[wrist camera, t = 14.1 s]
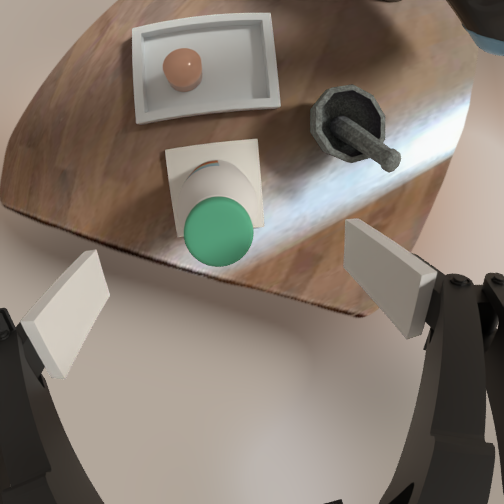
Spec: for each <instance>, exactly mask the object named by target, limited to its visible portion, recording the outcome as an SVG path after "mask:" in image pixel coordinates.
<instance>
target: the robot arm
mask: <svg viewBox="0 0 504 504" xmlns="http://www.w3.org/2000/svg"><path fill="white" fill-rule="evenodd" d="M384 1H390V2H398V1H401V0H384ZM446 1H447V2H448V4H449V5H450V6H451V8H452V9H453V11H454V12H455V13H456V15H457V16H458V18H459V19H460V21H461V22H462V26H463V27H464V29H465V30H466V31H468V33H469V34H470V36H471V37H472V39H473V40H474V42H475V44H476V45H477V46H478V47H479V48H481V49H482V50H484V51H485V52H487V53H490V54H493V55H499V56H504V0H446ZM344 268H345V269H346V270H347V272H348V273H349V274H350V275H351V276H352V277H353V278H354V279H355V280H356V281H357V283H358V284H359V285H360V286H361V287H362V288H363V289H364V290H365V292H366V293H367V294H368V295H369V296H370V297H371V298H372V299H373V301H374V302H375V303H376V304H377V305H378V306H379V307H380V309H381V310H382V311H383V312H384V313H385V314H386V316H387V317H388V318H389V319H390V320H391V321H392V323H393V324H394V325H395V326H396V327H397V329H398V330H399V331H400V332H401V333H402V335H403V336H404V337H405V338H406V339H410V338H413V337H416V336H419V335H421V334H422V331H423V328H424V324H425V322H426V323H427V324H428V325H429V326H430V327H431V328H430V331H429V334H428V337H427V340H426V343H425V346H424V350H426V355H425V361H424V368H423V373H422V378H421V383H420V388H419V393H418V397H417V402H416V406H415V410H414V414H413V418H412V422H411V425H410V429H409V432H408V435H407V439H406V442H405V445H404V448H403V451H402V454H401V457H400V460H399V463H398V466H397V468H396V471H395V474H394V476H393V479H392V481H391V483H390V485H389V487H388V489H387V490H386V492H385V494H384V495H383V497H382V498H381V500H380V502H379V504H487V503H488V499H489V494H490V488H491V483H492V476H493V469H494V462H495V447H494V445H493V443H486V442H485V439H484V433H485V418H486V416H485V415H486V390H487V394H488V398H489V402H490V406H491V410H492V415H493V420H494V424H495V430H496V436H497V441H498V449H499V456H500V465H501V476H502V485H503V493H504V276H503V275H502V274H499V273H488V274H486V276H485V279H484V283H483V285H474V284H473V283H472V281H471V280H470V279H469V278H467V277H465V276H463V275H459V274H447V275H444V274H443V273H442V272H440V271H439V270H438V269H436V268H435V267H433V266H432V265H430V264H429V263H428V262H426V261H424V260H423V259H422V258H421V257H419V256H418V255H416V254H413V253H410V252H409V251H407V250H406V249H404V248H403V247H401V246H400V245H398V244H397V243H396V242H394V241H393V240H391V239H390V238H388V237H386V236H385V235H383V234H382V233H380V232H379V231H377V230H376V229H374V228H373V227H371V226H369V225H368V224H366V223H365V222H363V221H362V220H360V219H358V218H357V219H346V220H345V248H344ZM109 296H110V293H109V290H108V287H107V284H106V281H105V277H104V274H103V271H102V267H101V264H100V260H99V257H98V253H97V250H90V251H85V252H84V253H82V254H81V255H80V256H79V258H77V259H76V260H75V261H74V263H72V264H71V265H70V266H69V268H68V269H66V271H65V272H64V273H63V274H62V275H61V276H60V277H59V278H58V279H57V280H56V281H55V282H54V283H53V284H52V285H51V287H50V288H49V289H48V290H47V291H46V292H45V293H44V294H43V295H42V296H41V297H40V299H39V300H38V301H37V302H36V303H35V304H34V305H33V306H32V308H31V309H30V310H29V311H28V312H27V314H26V315H25V316H24V317H23V318H22V319H21V321H20V323H19V324H18V325H17V327H15V325H14V323H13V321H12V319H11V317H10V315H9V313H8V311H7V309H6V308H0V504H104V502H103V501H102V499H101V498H100V496H99V495H98V493H97V491H96V490H95V488H94V487H93V485H92V483H91V481H90V480H89V478H88V476H87V474H86V473H85V471H84V469H83V467H82V465H81V464H80V462H79V460H78V458H77V456H76V454H75V452H74V450H73V448H72V446H71V444H70V441H69V439H68V437H67V435H66V433H65V431H64V428H63V426H62V423H61V421H60V419H59V416H58V414H57V411H56V409H55V406H54V403H53V401H52V398H51V395H50V393H49V389H48V386H47V383H46V380H45V378H44V377H43V375H42V374H41V373H42V371H43V369H44V367H45V368H46V370H47V372H48V373H49V375H50V376H51V378H57V379H66V377H67V375H68V373H69V371H70V369H71V367H72V365H73V363H74V361H75V358H76V357H77V354H78V353H79V351H80V349H81V347H82V345H83V343H84V341H85V339H86V337H87V335H88V334H89V331H90V330H91V328H92V326H93V324H94V322H95V321H96V319H97V317H98V315H99V314H100V312H101V310H102V308H103V306H104V305H105V303H106V301H107V300H108V298H109ZM498 322H499V324H498ZM497 325H498V329H497V328H496V327H497ZM10 485H11V486H10ZM325 504H343V502H342V500H341V499H340V500H336V501H333V502H329V503H325Z"/></svg>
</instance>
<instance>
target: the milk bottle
mask: <svg viewBox="0 0 504 504" xmlns="http://www.w3.org/2000/svg"><path fill="white" fill-rule="evenodd" d="M257 212H258V202H257V196H256V193H255V190H254V188H253V186H252V184H251V183H250V181H249V180H248V178H247V177H246V176H245V175H244V174H243V173H242V172H241V171H240V169H238V168H237V167H236V166H235V165H233V164H232V163H230V162H227V161H224V160H210V161H206V162H204V163H202V164H200V165H199V166H198V167H196V168H195V169H194V170H193V171H192V173H191V174H190V175H189V176H188V178H187V179H186V181H185V182H184V184H183V185H182V188H181V190H180V192H179V195H178V199H177V215H178V219H179V222H180V224H181V227H182V228H183V230H184V240H185V244H186V246H187V248H188V250H189V252H190V253H191V254H192V255H193V256H194V257H195V258H196V259H197V260H198V261H200V262H202V263H204V264H206V265H209V266H215V267H221V266H227V265H230V264H233V263H235V262H237V261H238V260H240V259H241V258H242V257H243V256H244V255H245V254H246V253H247V251H248V250H249V248H250V246H251V243H252V240H253V225H254V223H255V220H256V217H257Z"/></svg>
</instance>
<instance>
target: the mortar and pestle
mask: <svg viewBox="0 0 504 504" xmlns="http://www.w3.org/2000/svg"><path fill="white" fill-rule="evenodd" d="M310 133H311V134H312V136H313V137H314V139H315V140H316V142H317V143H318V145H319V146H320V148H321V149H322V151H323V152H325V153H327V154H329V155H332V156H334V157H336V158H339V159H341V160H343V161H346V162H349V163H354V162H357V161H361V160H365V159H368V158H371V159H373V160H374V161H376V162H377V163H379V164H380V165H381V167H382V169H383V170H385V171H387V172H392V171H394V170H395V169H396V168H397V167H398V166H399V163H400V161H401V155H400V153H399V152H398V151H396V150H395V149H390V148H389V147H388V146H386V145H385V144H384V143H383V142H384V140H385V115H384V113H383V111H382V110H381V108H380V106H379V104H378V103H377V101H376V99H375V98H374V96H373V95H371V94H370V93H368V92H366V91H364V90H362V89H360V88H359V87H357V86H355V85H353V84H352V85H346V86H340V87H334V88H330V89H327V90H326V91H325V92H324V93H323V94H322V95H321V96H320V98H319V99H318V100H317V102H316V103H315V104H314V105H313V107H312V108H311V109H310Z"/></svg>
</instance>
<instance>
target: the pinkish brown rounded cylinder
mask: <svg viewBox="0 0 504 504" xmlns="http://www.w3.org/2000/svg"><path fill="white" fill-rule="evenodd" d="M163 72H164V74H165V76H166V78H167V80H168V82H169V84H170V85H171V87H172V88H173V89H175V90H177V91H179V92H188V91H191V90H193V89H195V88H196V87H197V86H198V85H199V84H200V83H201V81H202V63H201V58H200V56H199V54H198V53H197V52H196V51H194V50H192V49H189V48H180V49H176V50H174V51H172V52H171V53H169V54H168V55H167V56H166V58H165V60H164V62H163Z"/></svg>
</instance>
